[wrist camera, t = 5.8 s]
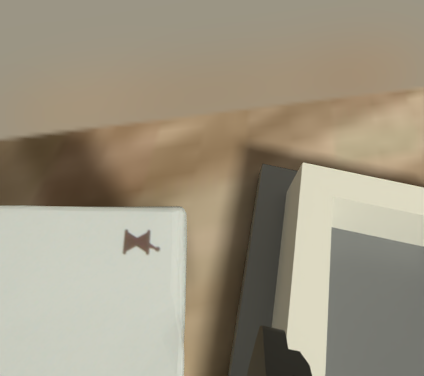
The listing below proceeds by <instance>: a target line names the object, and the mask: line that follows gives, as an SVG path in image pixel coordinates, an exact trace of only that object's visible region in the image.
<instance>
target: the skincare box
mask: <svg viewBox="0 0 424 376" xmlns="http://www.w3.org/2000/svg"><path fill="white" fill-rule="evenodd" d="M186 252H187V220H186V212H185V210H184V209H183V208H182V207H69V206H0V376H184V328H185V298H186Z"/></svg>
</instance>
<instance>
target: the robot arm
mask: <svg viewBox="0 0 424 376" xmlns="http://www.w3.org/2000/svg"><path fill="white" fill-rule="evenodd" d="M247 376H312V373H311V369H310V365H309V364H308V362H307V361H306V359H305V358H304V357H303V355H302V354H301V352H300V351H296V350H291V349H288V344H287V338H286V333H285V330H281V329H276V328H272V327H267V326H263V325H261V326H260V327H259V330H258V334H257V337H256V341H255V345H254V349H253V352H252V356H251V360H250V364H249V368H248V373H247Z"/></svg>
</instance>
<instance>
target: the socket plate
mask: <svg viewBox="0 0 424 376" xmlns="http://www.w3.org/2000/svg"><path fill="white" fill-rule="evenodd" d="M261 325H263V326H267V327H272V328H276V329H281V330H285V333H286V338H287V344H288V349H291V350H296V351H300V352H301V354H302V355H303V357H304V358H305V359H306V361H307V362H308V364H309V365H310V369H311V373H312V376H424V187H419V186H414V185H409V184H404V183H399V182H395V181H390V180H385V179H380V178H375V177H371V176H366V175H361V174H356V173H351V172H347V171H342V170H337V169H332V168H327V167H323V166H318V165H313V164H308V163H302V164H301V166H300V168H299V170H298V171H295V170H290V169H286V168H281V167H276V166H271V165H266V164H263V165H262V167H261V170H260V173H259V179H258V185H257V192H256V198H255V204H254V211H253V217H252V224H251V230H250V236H249V243H248V249H247V256H246V262H245V268H244V275H243V281H242V288H241V294H240V300H239V307H238V313H237V320H236V326H235V332H234V339H233V345H232V352H231V358H230V364H229V371H228V376H247V373H248V368H249V364H250V360H251V356H252V352H253V349H254V345H255V341H256V337H257V334H258V330H259V327H260V326H261Z"/></svg>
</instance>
